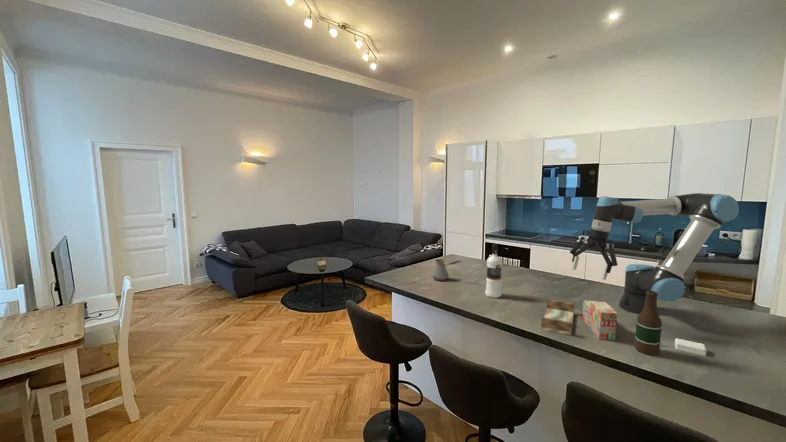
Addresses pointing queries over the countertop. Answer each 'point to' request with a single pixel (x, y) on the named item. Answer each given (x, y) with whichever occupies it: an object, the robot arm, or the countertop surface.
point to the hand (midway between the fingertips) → (588, 274)
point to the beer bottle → (648, 327)
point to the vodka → (494, 275)
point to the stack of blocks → (600, 319)
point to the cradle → (558, 317)
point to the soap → (690, 347)
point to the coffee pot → (441, 270)
